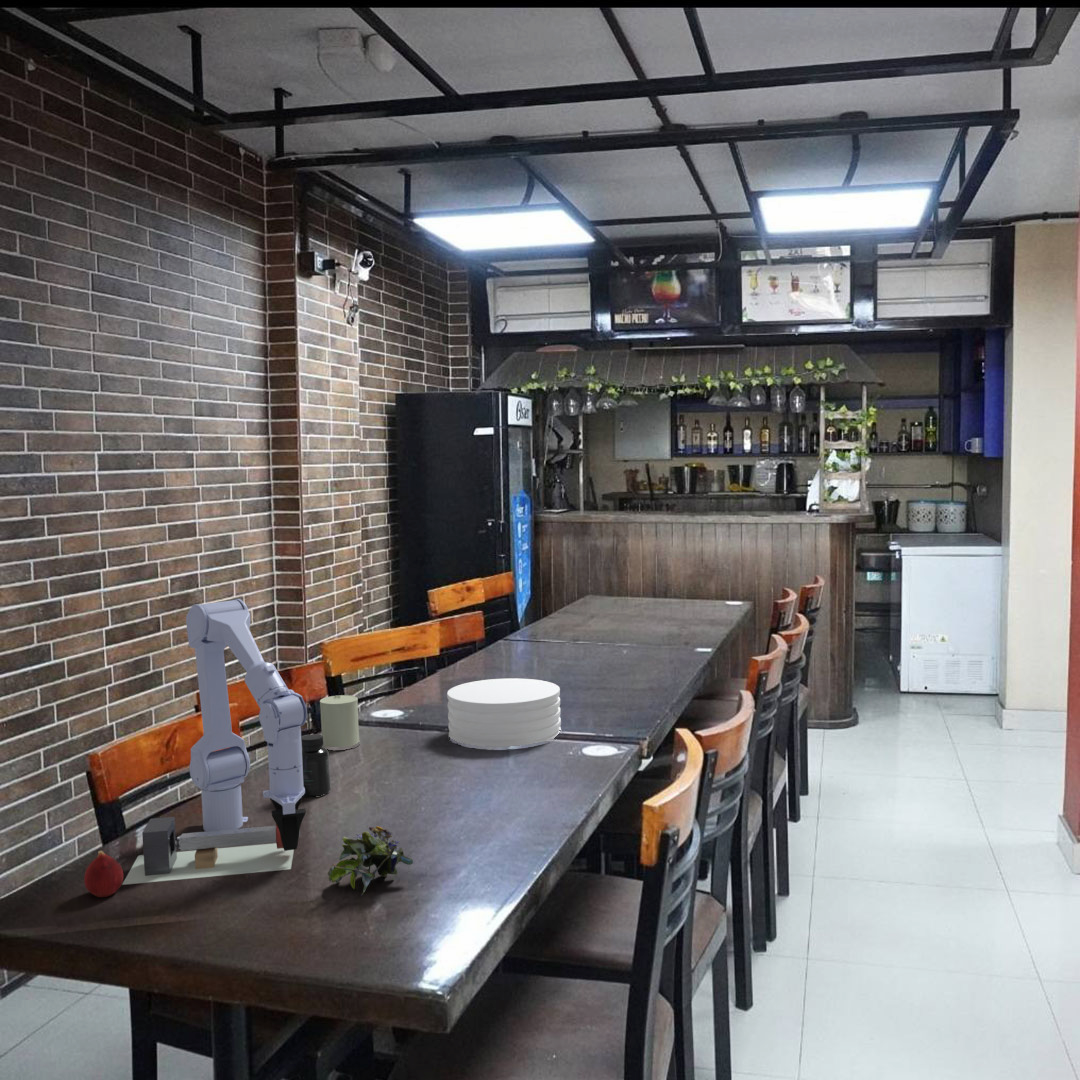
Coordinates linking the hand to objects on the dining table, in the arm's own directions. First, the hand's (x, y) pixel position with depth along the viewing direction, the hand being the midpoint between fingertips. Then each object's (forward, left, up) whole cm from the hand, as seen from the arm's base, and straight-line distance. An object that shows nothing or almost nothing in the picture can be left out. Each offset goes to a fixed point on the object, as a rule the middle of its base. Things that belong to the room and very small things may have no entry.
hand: (289, 841), depth 183 cm
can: (-74, +7, -4) cm, 74 cm away
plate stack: (-72, +48, -4) cm, 87 cm away
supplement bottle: (-38, +2, -4) cm, 38 cm away
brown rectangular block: (0, -14, -2) cm, 14 cm away
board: (0, -13, -3) cm, 13 cm away
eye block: (0, -22, -2) cm, 22 cm away
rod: (0, -9, -1) cm, 9 cm away
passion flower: (+14, +13, -4) cm, 20 cm away
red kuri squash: (+10, -29, -4) cm, 30 cm away
